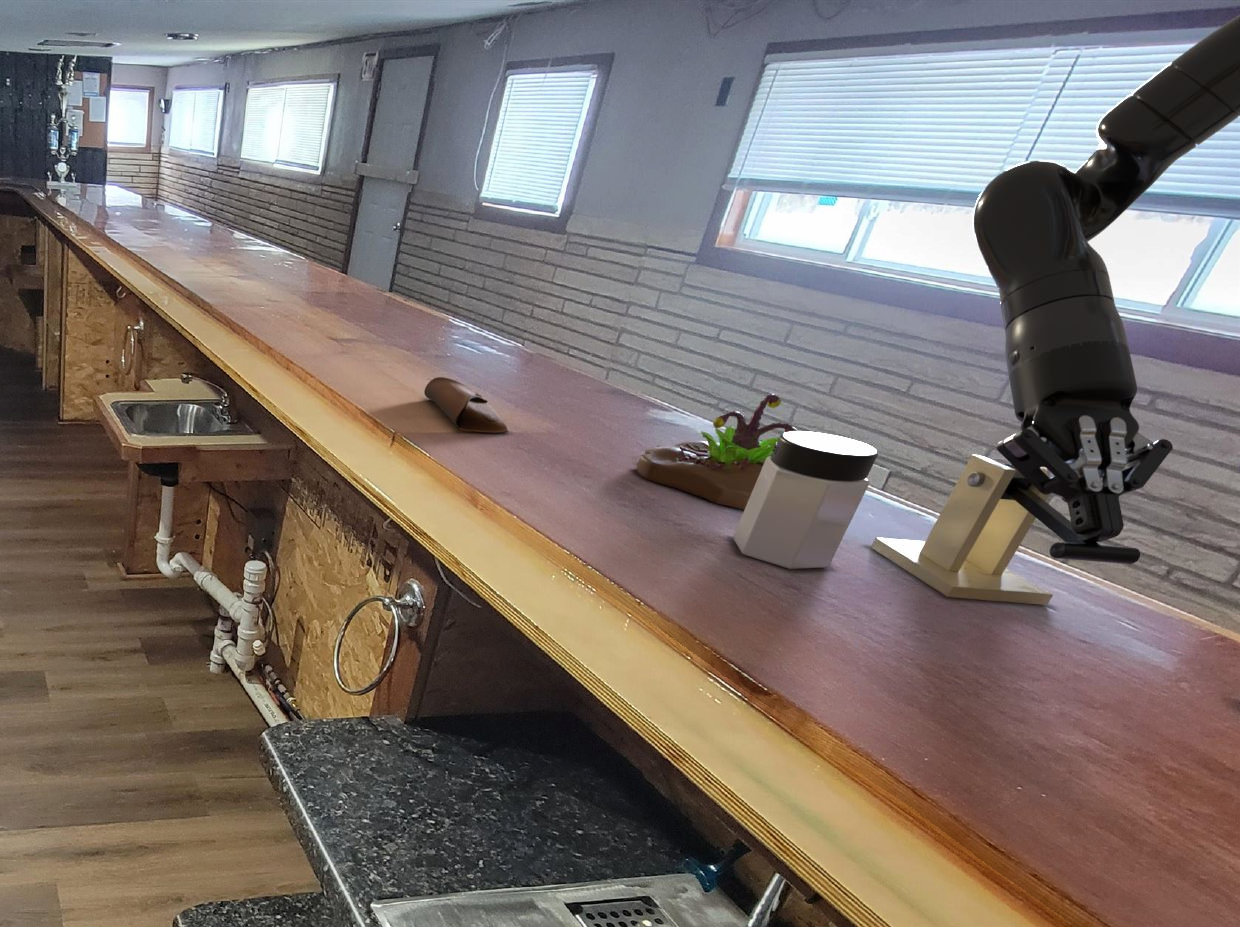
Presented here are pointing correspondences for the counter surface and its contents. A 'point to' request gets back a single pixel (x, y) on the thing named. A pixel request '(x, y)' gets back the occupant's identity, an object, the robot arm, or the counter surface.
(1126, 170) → the robot arm
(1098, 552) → the lever
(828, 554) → the jar
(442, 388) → the sunglasses case
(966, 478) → the bracket
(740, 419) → the plant
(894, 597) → the counter surface
